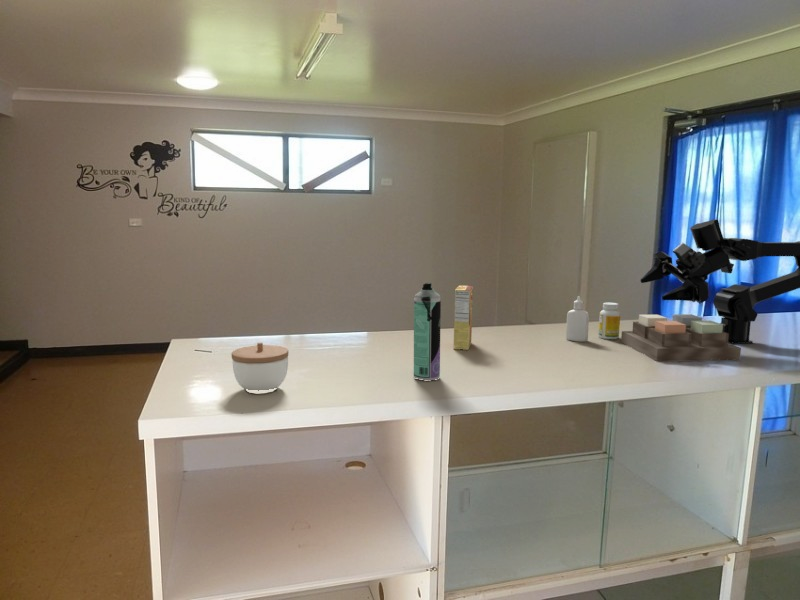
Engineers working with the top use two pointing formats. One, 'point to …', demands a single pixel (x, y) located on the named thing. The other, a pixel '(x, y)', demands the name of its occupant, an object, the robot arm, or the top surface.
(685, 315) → the cap slate
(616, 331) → the supplement bottle
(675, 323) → the cap terracotta
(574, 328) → the eye dropper bottle
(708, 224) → the robot arm
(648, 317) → the cap cream
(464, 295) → the candy box
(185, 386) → the top surface
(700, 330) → the cap sage
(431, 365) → the spray can
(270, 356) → the lidded jar
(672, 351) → the stepped wooden stand
